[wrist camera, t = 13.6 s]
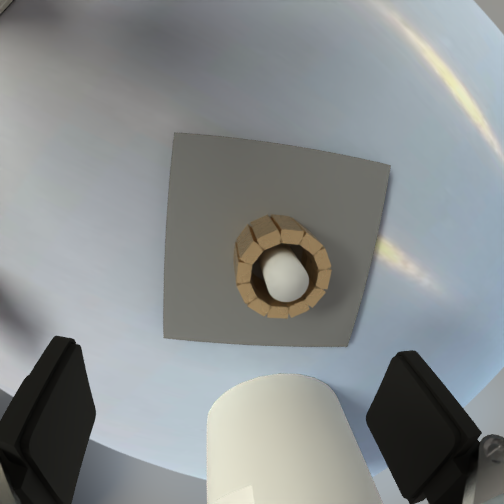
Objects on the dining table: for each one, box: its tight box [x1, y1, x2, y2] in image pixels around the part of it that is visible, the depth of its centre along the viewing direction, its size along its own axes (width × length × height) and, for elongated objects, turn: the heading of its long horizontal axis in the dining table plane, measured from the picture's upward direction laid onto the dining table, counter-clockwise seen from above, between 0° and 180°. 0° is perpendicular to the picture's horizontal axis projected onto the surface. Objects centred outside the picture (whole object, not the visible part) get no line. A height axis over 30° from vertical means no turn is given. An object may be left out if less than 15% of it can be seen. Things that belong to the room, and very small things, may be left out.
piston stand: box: [163, 133, 391, 347], centre depth 26 cm, size 19×19×8 cm
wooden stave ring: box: [233, 214, 332, 319], centre depth 26 cm, size 7×7×5 cm
